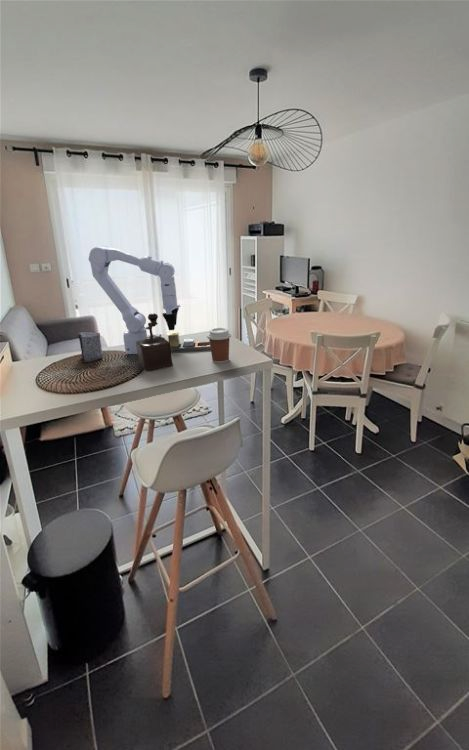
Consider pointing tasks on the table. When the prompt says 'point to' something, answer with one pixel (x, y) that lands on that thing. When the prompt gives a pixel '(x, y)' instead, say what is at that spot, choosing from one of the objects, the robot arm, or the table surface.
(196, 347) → the rail
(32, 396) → the table surface
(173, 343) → the yellow block
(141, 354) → the manual coffee grinder
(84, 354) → the stone
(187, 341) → the zinc nut
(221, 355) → the coffee cup
